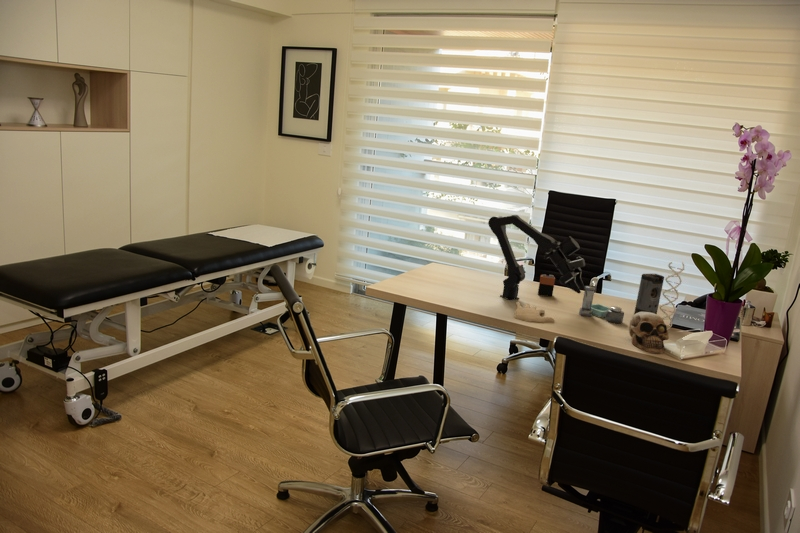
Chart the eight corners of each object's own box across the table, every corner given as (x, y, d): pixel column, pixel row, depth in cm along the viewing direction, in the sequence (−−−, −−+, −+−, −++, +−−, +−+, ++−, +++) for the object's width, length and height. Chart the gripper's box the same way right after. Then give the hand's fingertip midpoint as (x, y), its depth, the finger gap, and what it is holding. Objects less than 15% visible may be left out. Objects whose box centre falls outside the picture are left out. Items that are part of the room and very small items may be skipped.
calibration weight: (615, 324, 258) (617, 310, 257) (601, 319, 264) (604, 306, 262) (625, 323, 262) (628, 309, 261) (612, 318, 268) (614, 304, 266)
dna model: (662, 335, 249) (677, 263, 243) (650, 330, 255) (665, 260, 248) (674, 335, 252) (689, 264, 245) (662, 329, 258) (677, 260, 251)
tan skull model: (655, 354, 224) (660, 318, 223) (614, 343, 238) (618, 309, 237) (678, 350, 234) (683, 316, 232) (637, 340, 247) (641, 307, 246)
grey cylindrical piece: (585, 317, 265) (590, 289, 262) (576, 313, 269) (581, 286, 266) (593, 316, 267) (598, 288, 265) (584, 312, 272) (589, 285, 269)
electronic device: (642, 321, 267) (651, 277, 263) (631, 317, 272) (640, 273, 268) (657, 320, 272) (666, 276, 267) (646, 316, 277) (655, 273, 272)
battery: (552, 297, 293) (555, 276, 291) (537, 294, 294) (540, 274, 292) (552, 295, 297) (555, 275, 295) (538, 292, 298) (541, 272, 296)
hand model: (504, 310, 253) (521, 295, 270) (503, 320, 255) (519, 305, 271) (549, 323, 245) (563, 307, 261) (547, 334, 246) (561, 317, 263)
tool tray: (600, 317, 266) (601, 311, 266) (582, 310, 274) (583, 305, 274) (615, 315, 272) (616, 310, 271) (597, 309, 280) (598, 303, 279)
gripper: (571, 254, 258) (593, 284, 255) (580, 248, 274) (601, 277, 272) (549, 268, 263) (571, 299, 260) (559, 262, 279) (580, 290, 277)
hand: (582, 291), depth 267 cm, fingers open, 9 cm apart
